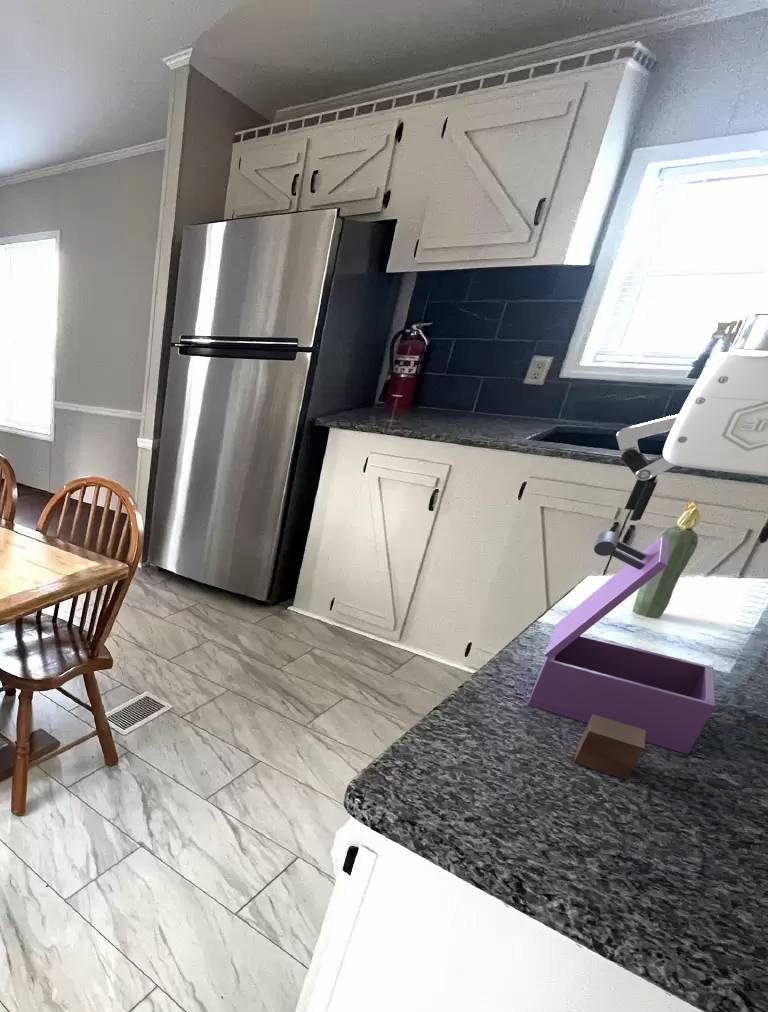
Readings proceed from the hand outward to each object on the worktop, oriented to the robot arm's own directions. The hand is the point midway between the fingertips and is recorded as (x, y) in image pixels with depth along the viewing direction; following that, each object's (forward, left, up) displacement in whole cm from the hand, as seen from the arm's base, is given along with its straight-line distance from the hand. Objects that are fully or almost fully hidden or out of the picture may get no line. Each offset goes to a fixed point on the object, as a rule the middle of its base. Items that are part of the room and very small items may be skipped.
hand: (704, 528), depth 61 cm
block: (-1, +1, -27) cm, 27 cm away
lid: (+9, -10, -13) cm, 19 cm away
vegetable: (+18, -43, -28) cm, 54 cm away
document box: (+5, -12, -27) cm, 30 cm away
